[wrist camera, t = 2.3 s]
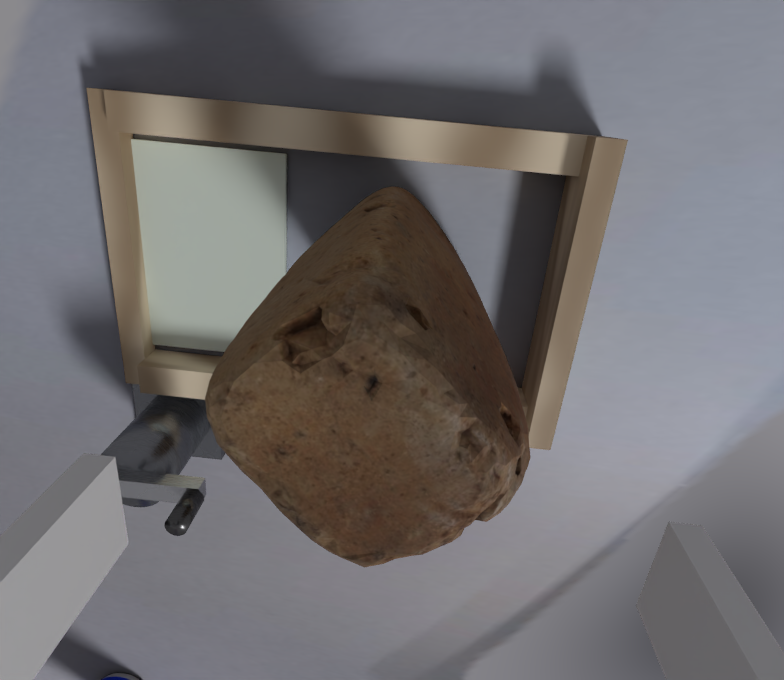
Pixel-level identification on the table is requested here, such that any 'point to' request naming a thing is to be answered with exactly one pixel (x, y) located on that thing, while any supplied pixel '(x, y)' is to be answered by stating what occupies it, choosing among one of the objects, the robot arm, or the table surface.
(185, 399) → the crank handle base
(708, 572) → the robot arm
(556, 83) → the table surface
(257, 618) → the table surface
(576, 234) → the frame
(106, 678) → the beverage can
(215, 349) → the front mat
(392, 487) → the brown rough stone
